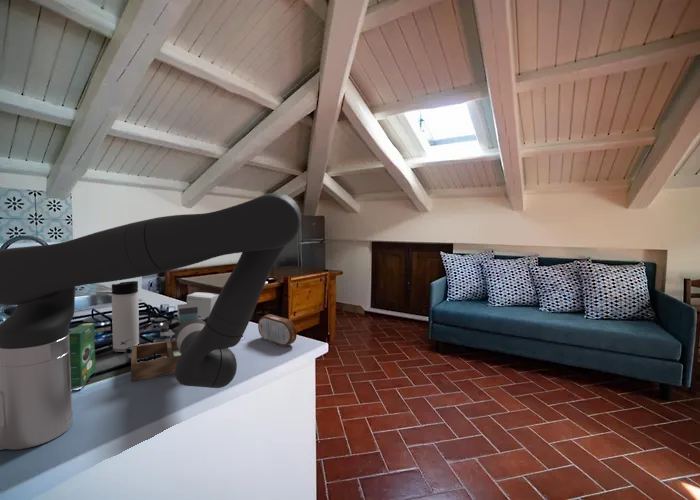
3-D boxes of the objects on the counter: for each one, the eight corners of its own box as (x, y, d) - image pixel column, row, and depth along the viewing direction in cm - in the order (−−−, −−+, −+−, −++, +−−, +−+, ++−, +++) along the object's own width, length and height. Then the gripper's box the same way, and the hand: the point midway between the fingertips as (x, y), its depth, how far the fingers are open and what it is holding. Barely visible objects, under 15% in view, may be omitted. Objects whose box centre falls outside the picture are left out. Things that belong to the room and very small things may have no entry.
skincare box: (184, 342, 101) (184, 295, 100) (195, 335, 107) (195, 291, 106) (210, 344, 100) (210, 297, 99) (219, 337, 106) (220, 292, 105)
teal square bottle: (179, 353, 85) (179, 308, 84) (177, 347, 89) (177, 304, 88) (197, 350, 88) (197, 306, 87) (195, 344, 91) (195, 303, 90)
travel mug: (126, 354, 91) (125, 283, 89) (107, 351, 92) (105, 281, 90) (145, 346, 97) (144, 279, 95) (126, 343, 98) (125, 278, 96)
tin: (297, 346, 102) (297, 320, 101) (290, 349, 99) (290, 323, 98) (263, 335, 110) (263, 311, 109) (256, 338, 107) (256, 313, 106)
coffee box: (82, 375, 78) (80, 322, 77) (96, 373, 79) (95, 321, 78) (65, 392, 71) (63, 334, 70) (81, 390, 72) (79, 333, 71)
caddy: (131, 381, 76) (131, 365, 76) (132, 360, 87) (132, 345, 87) (208, 366, 86) (209, 351, 85) (201, 349, 97) (201, 335, 96)
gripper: (227, 319, 79) (213, 303, 94) (159, 328, 72) (156, 308, 86) (227, 349, 80) (213, 328, 94) (159, 361, 72) (156, 336, 86)
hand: (186, 319), depth 90 cm, fingers closed on teal square bottle, 4 cm apart
